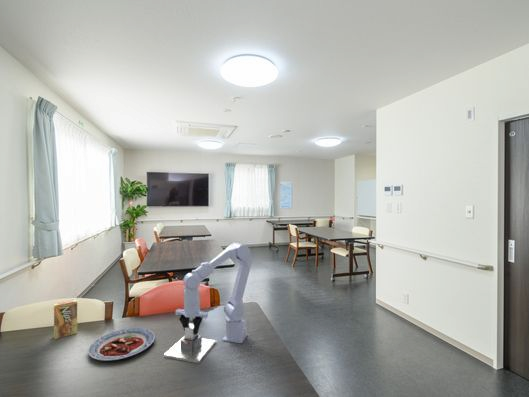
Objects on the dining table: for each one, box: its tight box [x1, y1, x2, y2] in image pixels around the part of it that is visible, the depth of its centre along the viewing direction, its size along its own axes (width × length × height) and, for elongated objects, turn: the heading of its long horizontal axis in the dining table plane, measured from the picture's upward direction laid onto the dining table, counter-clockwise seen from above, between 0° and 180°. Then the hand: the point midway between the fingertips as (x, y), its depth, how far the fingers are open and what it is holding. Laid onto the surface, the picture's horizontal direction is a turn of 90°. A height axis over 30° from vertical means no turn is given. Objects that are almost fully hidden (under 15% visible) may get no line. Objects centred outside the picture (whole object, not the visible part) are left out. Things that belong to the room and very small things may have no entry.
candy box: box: [53, 299, 78, 340], centre depth 128 cm, size 9×4×15 cm, turn 129°
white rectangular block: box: [184, 322, 199, 341], centre depth 116 cm, size 4×4×8 cm
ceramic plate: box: [87, 327, 156, 361], centre depth 118 cm, size 26×26×3 cm
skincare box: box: [183, 289, 201, 322], centre depth 147 cm, size 8×6×15 cm
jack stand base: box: [163, 333, 217, 364], centre depth 116 cm, size 16×16×5 cm
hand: (191, 332), depth 116 cm, fingers closed on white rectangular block, 4 cm apart
